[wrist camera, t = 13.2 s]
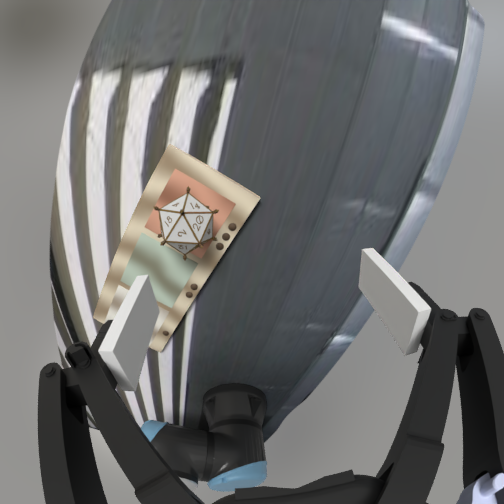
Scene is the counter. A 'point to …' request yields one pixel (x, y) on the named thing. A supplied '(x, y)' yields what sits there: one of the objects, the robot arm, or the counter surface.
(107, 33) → the counter surface
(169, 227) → the game die
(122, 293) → the board
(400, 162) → the counter surface
